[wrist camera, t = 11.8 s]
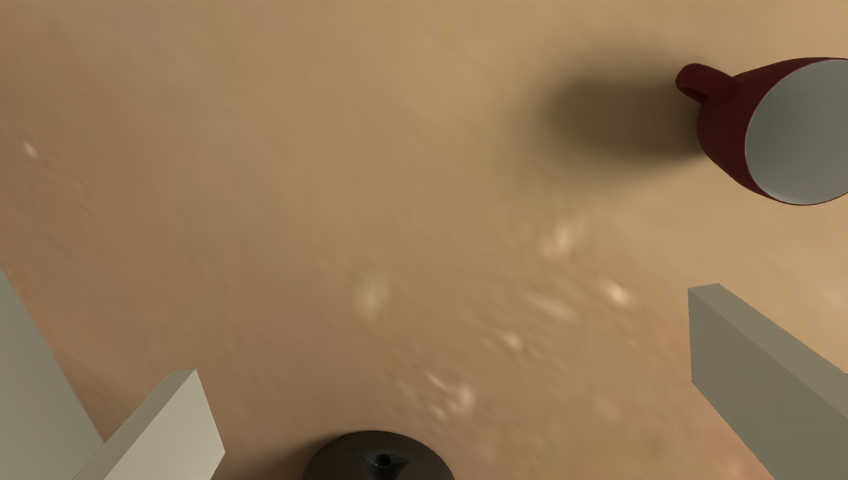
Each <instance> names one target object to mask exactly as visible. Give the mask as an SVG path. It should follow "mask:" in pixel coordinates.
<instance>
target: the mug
mask: <svg viewBox="0 0 848 480" xmlns="http://www.w3.org/2000/svg"><path fill="white" fill-rule="evenodd" d="M675 83H676V87H677V88H678V89H679V90H680V91H681V92H682V93H684V94H685V95H687V96H689V97H690V98H692V99H694V100H696V101H697V102H699V103H701V108H700V111H699V114H698V119H697V135H698V139H699V143H700V145H701V147H702V149H703V151H704V152H705V153H706V155H707V156H708V157H709V158H710V159H711V160H712V161H713V162H714V163H715V164H717V165H718V166H719V167H720V168H721V169H722V170H723V171H725V172H726V173H727V174H728V175H729V176H730V177H732V178H733V179H734V180H735V181H736V182H738V183H739V184H741V185H742V186H744V187H745V188H747V189H749V190H751V191H753V192H755V193H757V194H760V195H762V196H765V197H767V198H770V199H773V200H775V201H778V202H781V203H785V204H790V205H798V206H808V205H816V204H821V203H825V202H829V201H831V200H834V199H837V198H839V197H841V196H843V195H845V194H847V193H848V59H846V58H829V57H811V58H798V59H791V60H786V61H782V62H778V63H774V64H771V65H767V66H764V67H761V68H757V69H754V70H750V71H747V72H744V73H741V74H738V75H736V76H733V77H731V76H729V75H727V74H725V73H723V72H721V71H719V70H716V69H714V68H711V67H708V66H706V65H702V64H696V63H693V64H689V65H686V66H685V67H684V68H683V69H682V70H681V71H680V72H679V74H678V75H677V77H676V80H675Z"/></svg>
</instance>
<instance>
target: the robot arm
mask: <svg viewBox="0 0 848 480" xmlns="http://www.w3.org/2000/svg"><path fill="white" fill-rule="evenodd" d="M688 307H689V328H690V349H691V370H692V383H693V384H694V385H695V386H696V387H697V388H698V390H699V391H700V392H701V393H702V394H703V395H704V397H705V398H706V399H707V400H708V401H709V402H710V404H711V405H712V406H713V407H714V408H715V409H716V410H717V412H718V413H719V414H720V415H721V416H722V417H723V419H724V420H725V421H726V422H727V423H728V424H729V426H730V427H731V428H732V429H733V430H734V431H735V433H736V434H737V435H738V436H739V437H740V438H741V440H742V441H743V442H744V443H745V444H746V445H747V447H748V448H749V449H750V450H751V451H752V452H753V454H754V455H755V456H756V457H757V458H758V459H759V461H760V462H761V463H762V464H763V465H764V466H765V468H766V469H767V470H768V471H769V472H770V473H771V475H772V476H773V477H774V478H775V479H776V480H848V374H846V373H844V372H843V371H841V370H840V369H839V368H837V367H836V366H834V365H833V364H832V363H830V362H829V361H827V360H826V359H825V358H823V357H822V356H820V355H819V354H818V353H816V352H815V351H813V350H812V349H810V348H809V347H808V346H806V345H805V344H803V343H802V342H801V341H799V340H798V339H796V338H795V337H794V336H792V335H791V334H789V333H788V332H787V331H785V330H784V329H782V328H781V327H779V326H778V325H777V324H775V323H774V322H772V321H771V320H770V319H768V318H767V317H765V316H764V315H763V314H761V313H760V312H758V311H757V310H756V309H754V308H753V307H751V306H750V305H749V304H747V303H746V302H744V301H743V300H741V299H740V298H739V297H737V296H736V295H734V294H733V293H732V292H730V291H729V290H727V289H726V288H725V287H723V286H722V285H720V284H719V283H716V284H710V285H704V286H698V287H692V288H688ZM224 454H225V450H224V447H223V445H222V442H221V439H220V436H219V433H218V430H217V428H216V425H215V422H214V419H213V416H212V413H211V411H210V408H209V405H208V402H207V399H206V397H205V394H204V391H203V388H202V385H201V382H200V380H199V377H198V374H197V371H196V369H190V370H183V371H177V372H171V373H168V374H167V375H166V377H165V378H164V379H163V380H162V381H161V382H160V383H159V384H158V385H157V386H156V388H155V389H154V390H153V391H152V392H151V393H150V394H149V395H148V396H147V398H146V399H145V400H144V401H143V402H142V403H141V404H140V405H139V406H138V407H137V409H136V410H135V411H134V412H133V413H132V414H131V415H130V416H129V417H128V419H127V420H126V421H125V422H124V423H123V424H122V425H121V426H120V427H119V428H118V430H117V431H116V432H115V433H114V434H113V435H112V436H111V437H110V438H109V440H108V441H107V442H106V443H105V444H104V445H103V446H102V447H101V448H100V449H99V451H98V452H97V453H96V454H95V455H94V456H93V457H92V458H91V459H90V461H89V462H88V463H87V464H86V465H85V466H84V467H83V468H82V469H81V471H80V472H79V473H78V474H77V475H76V476H75V477H74V479H72V480H210V479H211V477H212V475H213V474H214V472H215V470H216V468H217V466H218V465H219V463H220V461H221V459H222V457H223V456H224ZM302 480H455V479H454V477H453V475H452V473H451V471H450V469H449V468H448V466H447V465H446V463H445V462H444V461H443V460H442V459H441V458H440V457H439V456H438V455H437V454H436V453H435V452H434V451H432V450H431V449H430V448H428V447H427V446H425V445H423V444H422V443H420V442H418V441H416V440H413V439H411V438H408V437H405V436H402V435H398V434H394V433H388V432H361V433H355V434H351V435H347V436H344V437H341V438H339V439H337V440H335V441H333V442H331V443H329V444H328V445H326V446H325V447H323V448H322V449H321V450H320V451H319V452H318V453H317V454H315V456H314V457H313V458H312V459H311V461H310V462H309V464H308V465H307V467H306V469H305V471H304V474H303V477H302Z"/></svg>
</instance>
